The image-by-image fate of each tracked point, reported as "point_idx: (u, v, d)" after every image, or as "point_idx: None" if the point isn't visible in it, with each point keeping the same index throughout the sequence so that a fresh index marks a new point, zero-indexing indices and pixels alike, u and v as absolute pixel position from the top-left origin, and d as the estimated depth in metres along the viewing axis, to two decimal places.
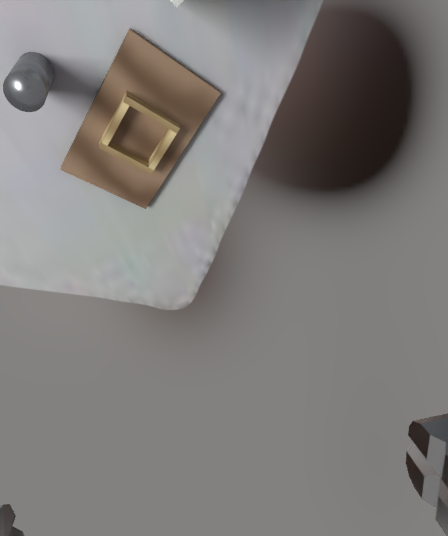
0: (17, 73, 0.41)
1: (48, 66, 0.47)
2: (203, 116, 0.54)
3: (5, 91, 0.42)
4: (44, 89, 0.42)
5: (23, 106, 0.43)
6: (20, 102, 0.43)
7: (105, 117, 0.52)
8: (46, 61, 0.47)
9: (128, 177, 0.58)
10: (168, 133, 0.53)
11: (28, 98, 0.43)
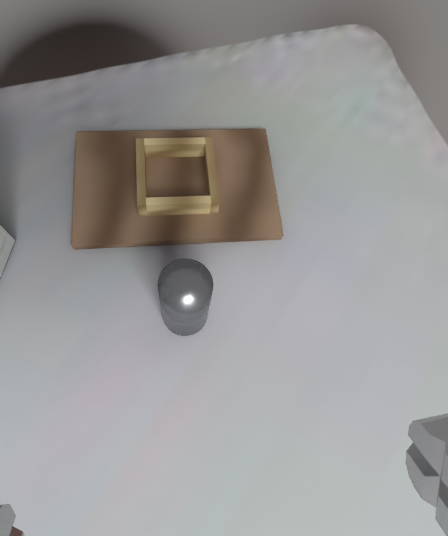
0: (166, 301, 0.29)
1: None
2: (113, 132, 0.42)
3: (200, 304, 0.29)
4: None
5: (205, 278, 0.30)
6: (202, 283, 0.30)
7: (184, 220, 0.39)
8: None
9: (239, 164, 0.42)
10: (151, 148, 0.40)
11: (190, 277, 0.30)
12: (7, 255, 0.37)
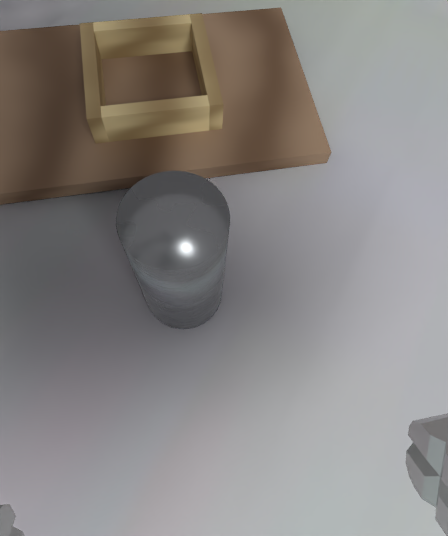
0: (135, 254, 0.14)
1: None
2: (48, 29, 0.27)
3: (207, 253, 0.14)
4: None
5: (212, 203, 0.15)
6: (207, 213, 0.14)
7: (169, 144, 0.24)
8: None
9: (247, 58, 0.27)
10: (107, 37, 0.25)
11: (182, 203, 0.15)
12: None
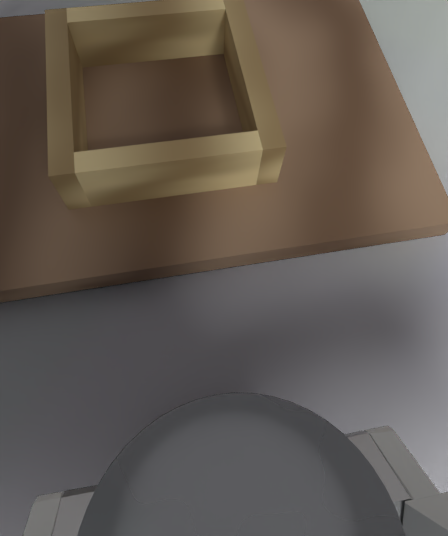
0: None
1: None
2: (2, 21, 0.18)
3: None
4: (127, 450, 0.05)
5: (353, 508, 0.05)
6: None
7: (191, 210, 0.15)
8: None
9: (310, 64, 0.18)
10: (89, 33, 0.16)
11: (265, 514, 0.05)
12: None
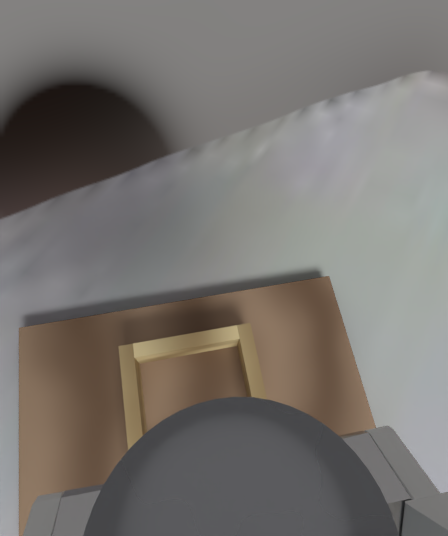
0: None
1: None
2: (80, 321, 0.25)
3: None
4: (131, 452, 0.06)
5: (348, 508, 0.05)
6: None
7: None
8: None
9: (297, 353, 0.25)
10: (147, 357, 0.23)
11: (265, 514, 0.05)
12: None
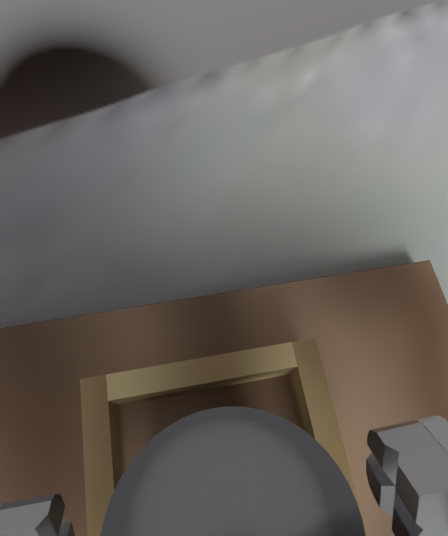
0: None
1: None
2: (24, 331, 0.15)
3: None
4: (141, 452, 0.07)
5: (321, 499, 0.06)
6: (313, 531, 0.06)
7: None
8: None
9: (388, 388, 0.15)
10: (133, 398, 0.13)
11: (252, 504, 0.06)
12: None
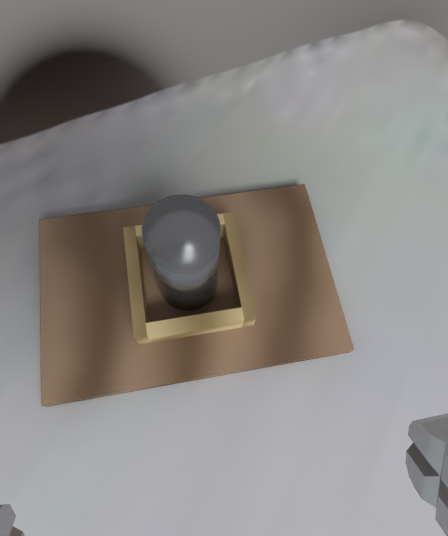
0: (155, 254, 0.20)
1: None
2: (91, 215, 0.30)
3: (204, 254, 0.20)
4: None
5: (208, 218, 0.21)
6: (204, 225, 0.21)
7: (206, 344, 0.27)
8: None
9: (275, 243, 0.29)
10: None
11: (187, 218, 0.21)
12: None
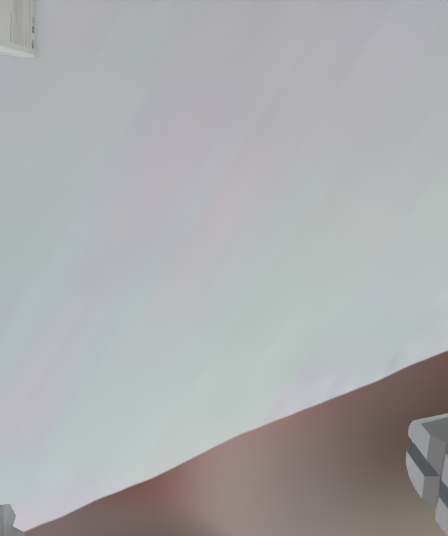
0: None
1: None
2: None
3: None
4: None
5: None
6: None
7: None
8: None
9: None
10: None
11: None
12: None
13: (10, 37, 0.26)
